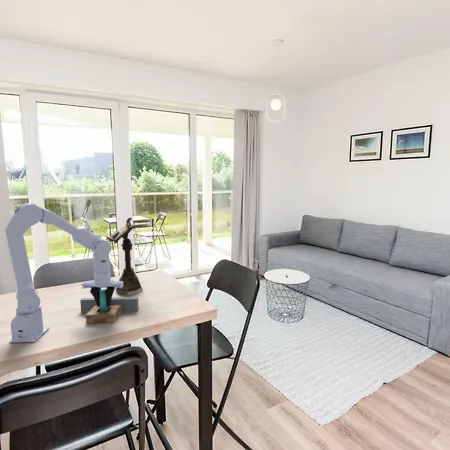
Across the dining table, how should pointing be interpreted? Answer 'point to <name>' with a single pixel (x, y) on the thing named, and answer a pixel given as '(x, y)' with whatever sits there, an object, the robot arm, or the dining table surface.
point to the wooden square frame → (104, 314)
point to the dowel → (103, 301)
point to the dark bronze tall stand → (126, 261)
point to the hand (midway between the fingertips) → (104, 306)
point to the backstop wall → (126, 302)
